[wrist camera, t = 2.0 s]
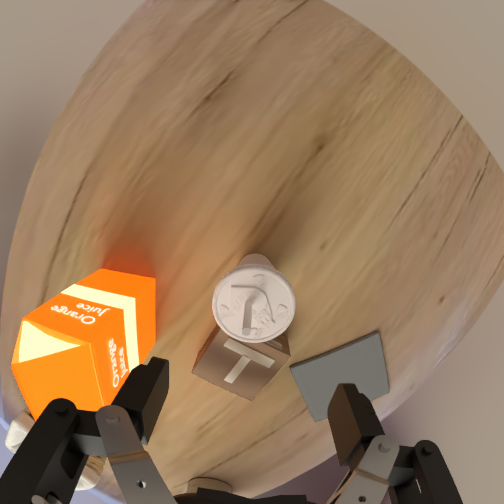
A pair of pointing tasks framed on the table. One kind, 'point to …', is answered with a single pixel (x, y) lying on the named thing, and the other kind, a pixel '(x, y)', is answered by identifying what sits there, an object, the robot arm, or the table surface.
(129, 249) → the table surface
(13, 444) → the storage basket
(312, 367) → the slate pad
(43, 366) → the orange juice
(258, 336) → the smoothie
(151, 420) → the robot arm
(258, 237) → the table surface
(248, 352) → the lettered block
